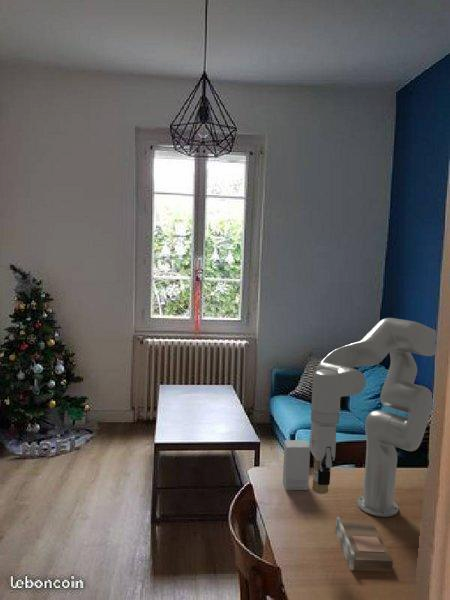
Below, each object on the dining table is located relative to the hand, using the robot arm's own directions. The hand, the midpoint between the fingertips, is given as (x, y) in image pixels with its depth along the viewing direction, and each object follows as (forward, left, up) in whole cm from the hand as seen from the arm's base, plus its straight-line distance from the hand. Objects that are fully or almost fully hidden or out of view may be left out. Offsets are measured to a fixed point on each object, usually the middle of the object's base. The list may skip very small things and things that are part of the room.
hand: (321, 479), depth 142 cm
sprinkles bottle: (0, 0, -4) cm, 4 cm away
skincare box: (-34, -2, -19) cm, 39 cm away
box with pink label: (+2, +12, -19) cm, 23 cm away
